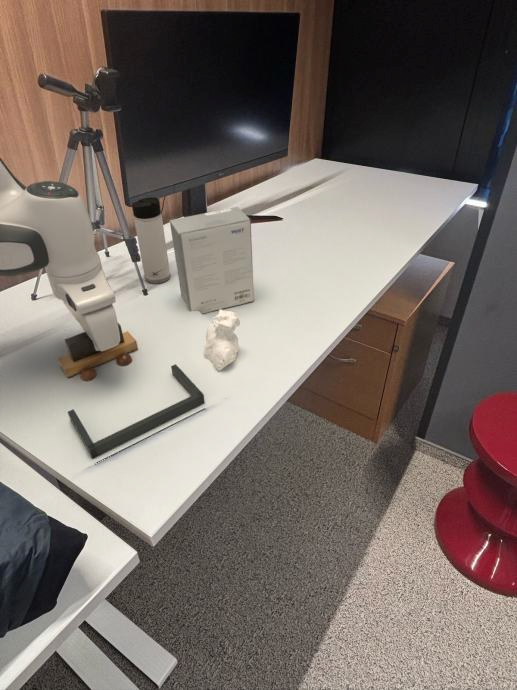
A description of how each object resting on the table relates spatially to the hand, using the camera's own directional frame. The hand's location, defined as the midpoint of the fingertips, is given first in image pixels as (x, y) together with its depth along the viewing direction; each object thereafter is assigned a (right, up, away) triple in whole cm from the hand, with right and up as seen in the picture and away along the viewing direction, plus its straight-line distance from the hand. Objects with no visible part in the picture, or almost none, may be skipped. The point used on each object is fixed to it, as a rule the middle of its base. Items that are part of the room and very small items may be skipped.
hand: (96, 343), depth 90 cm
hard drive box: (+21, +10, +20) cm, 31 cm away
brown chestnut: (-1, -6, -2) cm, 6 cm away
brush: (0, -4, +3) cm, 5 cm away
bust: (+24, -3, +4) cm, 24 cm away
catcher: (+10, -13, -8) cm, 18 cm away
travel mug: (+6, +16, +29) cm, 34 cm away
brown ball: (+5, -3, +2) cm, 6 cm away
